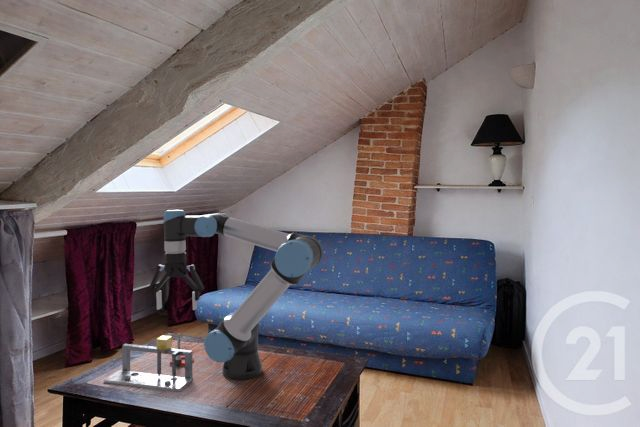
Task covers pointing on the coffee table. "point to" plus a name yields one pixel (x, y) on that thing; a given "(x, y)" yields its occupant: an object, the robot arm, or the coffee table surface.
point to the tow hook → (179, 358)
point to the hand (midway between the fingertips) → (177, 309)
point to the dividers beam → (173, 352)
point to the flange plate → (148, 380)
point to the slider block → (162, 344)
